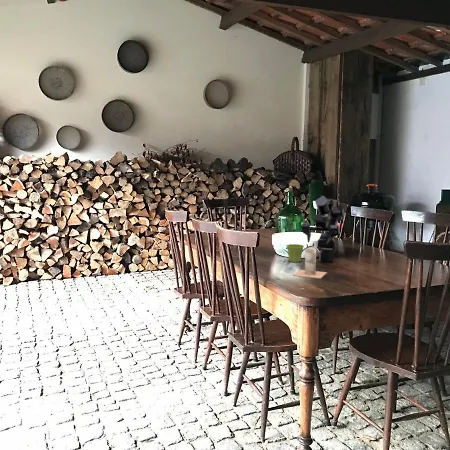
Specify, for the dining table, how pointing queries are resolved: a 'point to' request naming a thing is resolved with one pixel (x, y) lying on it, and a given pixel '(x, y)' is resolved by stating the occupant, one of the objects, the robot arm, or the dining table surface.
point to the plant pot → (295, 252)
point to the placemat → (317, 275)
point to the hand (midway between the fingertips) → (317, 242)
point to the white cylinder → (310, 261)
